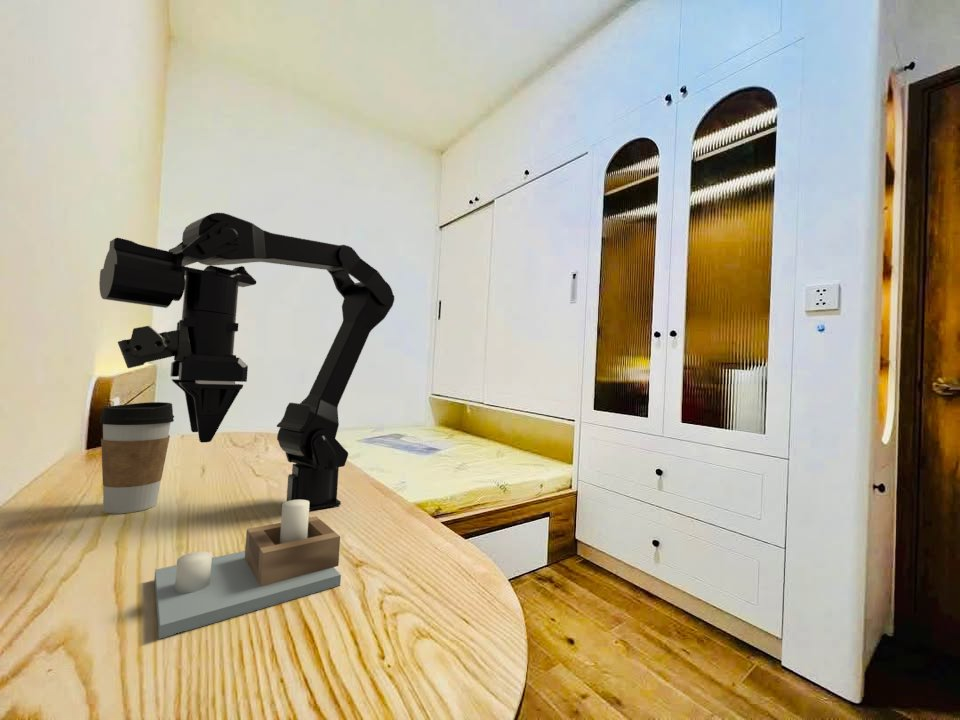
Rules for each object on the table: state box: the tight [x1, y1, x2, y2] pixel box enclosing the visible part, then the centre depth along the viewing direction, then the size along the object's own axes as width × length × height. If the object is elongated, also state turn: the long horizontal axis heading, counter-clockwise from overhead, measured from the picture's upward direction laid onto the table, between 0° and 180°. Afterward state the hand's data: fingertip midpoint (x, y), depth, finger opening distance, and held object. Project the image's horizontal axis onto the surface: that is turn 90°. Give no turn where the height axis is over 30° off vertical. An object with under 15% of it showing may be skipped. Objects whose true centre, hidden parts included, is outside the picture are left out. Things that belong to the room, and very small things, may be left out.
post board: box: [154, 500, 342, 640], centre depth 40 cm, size 14×11×7 cm
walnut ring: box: [244, 515, 341, 586], centre depth 42 cm, size 7×7×3 cm
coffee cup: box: [99, 401, 175, 515], centre depth 59 cm, size 8×8×15 cm
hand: (200, 436), depth 51 cm, fingers open, 9 cm apart
